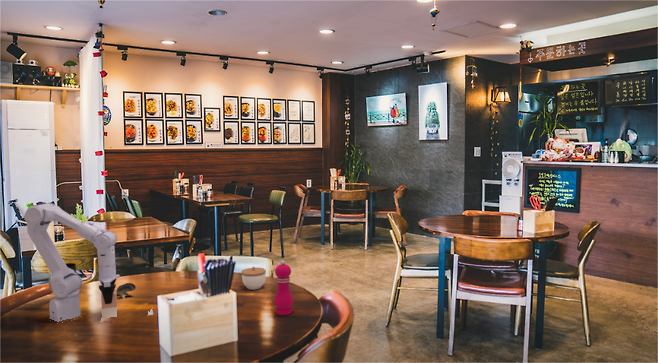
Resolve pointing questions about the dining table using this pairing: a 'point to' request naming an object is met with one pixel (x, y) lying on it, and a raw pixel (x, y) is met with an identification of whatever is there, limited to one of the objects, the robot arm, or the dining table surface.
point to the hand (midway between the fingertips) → (108, 300)
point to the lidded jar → (253, 277)
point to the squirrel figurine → (125, 289)
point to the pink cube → (114, 301)
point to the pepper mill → (283, 290)
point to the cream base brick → (109, 312)
